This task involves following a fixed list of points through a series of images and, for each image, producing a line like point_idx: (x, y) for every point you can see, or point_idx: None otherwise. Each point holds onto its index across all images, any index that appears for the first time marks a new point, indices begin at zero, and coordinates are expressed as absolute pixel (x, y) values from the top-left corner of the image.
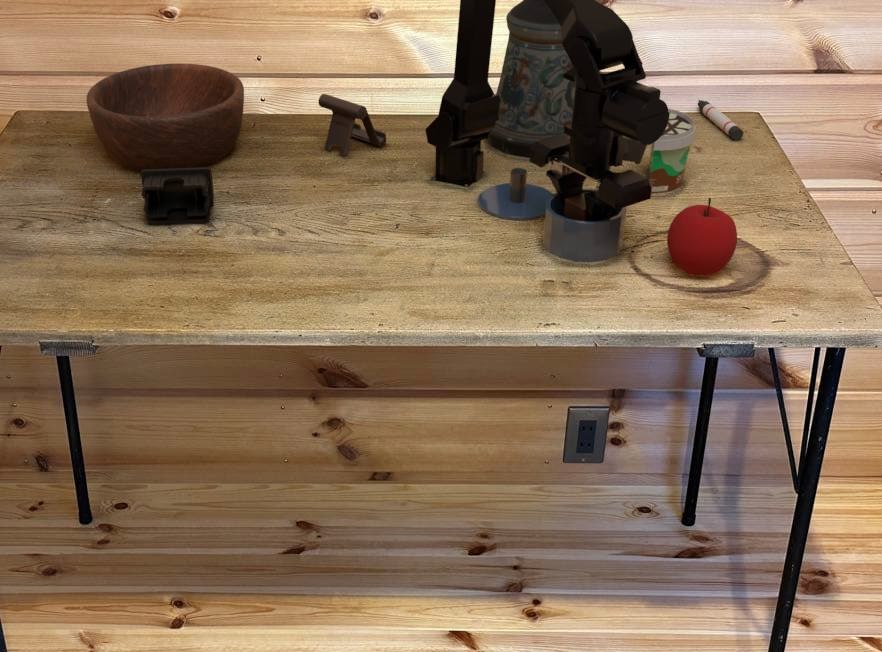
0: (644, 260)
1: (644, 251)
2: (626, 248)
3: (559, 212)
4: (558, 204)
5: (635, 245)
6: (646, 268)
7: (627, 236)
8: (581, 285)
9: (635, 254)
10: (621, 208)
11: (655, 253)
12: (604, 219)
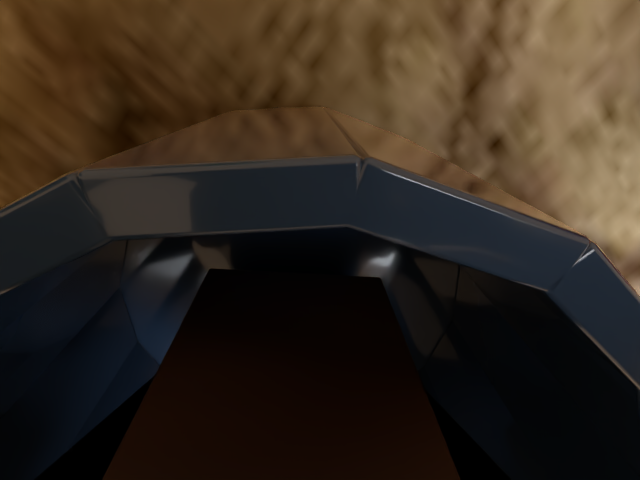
0: (591, 166)
1: (547, 87)
2: (451, 141)
3: (58, 391)
4: (18, 469)
5: (469, 71)
6: (632, 217)
7: (364, 13)
8: None
9: (523, 154)
10: (609, 362)
11: (611, 53)
12: (412, 360)
